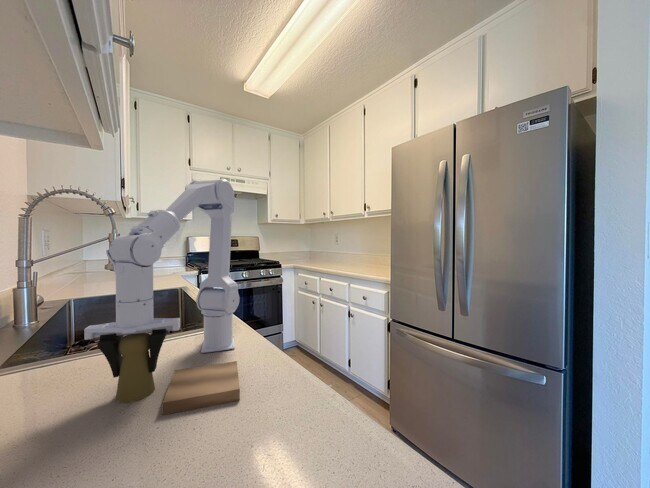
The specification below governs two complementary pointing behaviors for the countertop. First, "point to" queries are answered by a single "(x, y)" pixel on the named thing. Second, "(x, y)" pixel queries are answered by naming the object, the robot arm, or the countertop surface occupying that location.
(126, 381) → the olive tapered knobbed peg
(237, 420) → the countertop surface
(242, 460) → the countertop surface
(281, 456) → the countertop surface
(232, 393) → the walnut base
